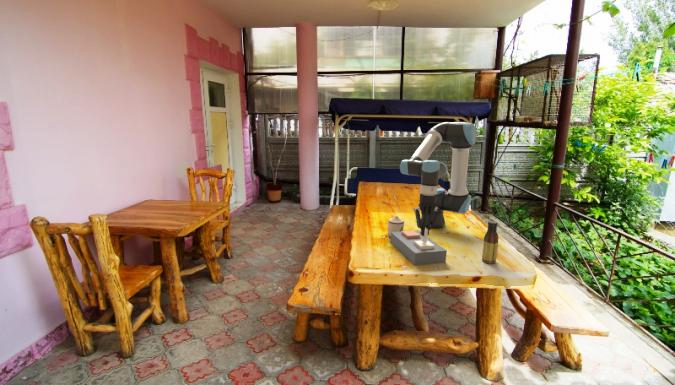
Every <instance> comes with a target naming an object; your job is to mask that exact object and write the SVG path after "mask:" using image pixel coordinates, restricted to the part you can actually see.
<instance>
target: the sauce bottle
mask: <svg viewBox="0 0 675 385" xmlns="http://www.w3.org/2000/svg"><path fill="white" fill-rule="evenodd" d="M498 225H499V222H498V221H495V220H488V222H487V231H486V233H485V234H484V237H483V244H482V245H483V246H482V254H481V257H482V258H481V259H482V262H484V263H486V264H493V265H494V264H496V262H497V259H498V249H499V248H498V247H499V235H498V232H497V228H498Z"/></svg>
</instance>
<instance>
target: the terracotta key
mask: <svg viewBox="0 0 675 385" xmlns="http://www.w3.org/2000/svg"><path fill="white" fill-rule="evenodd" d="M402 235H403V236H404V237H405V238H407V239H412V238H420V234H418V233H417V232H415V230H413V229H412V230H403V231H402Z"/></svg>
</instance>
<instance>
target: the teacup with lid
mask: <svg viewBox="0 0 675 385" xmlns="http://www.w3.org/2000/svg"><path fill="white" fill-rule="evenodd" d="M387 221H388V222H387V223H388V226H387V236H389V237H390V238H391V232H400V231H404V226H405V220H404V219H402V218H400V217H399V216H398V215H394V217H391V218H389V219H388V220H387Z"/></svg>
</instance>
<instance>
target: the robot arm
mask: <svg viewBox="0 0 675 385" xmlns="http://www.w3.org/2000/svg"><path fill="white" fill-rule="evenodd" d="M476 141H477V130H476V125H475V124H474V123H472V122H466V121H461V122H459V121H458V122H457V121H454V122H450V121H445V122H440V123H438V124H436V125H434V126H433V127H431V128H430V129H429V130H428V131H427V132H426V134H425V136H424V139H423V141H422V142H421V144H420V145H419V146H418V147H417V149H416V150H415V151H414V153H413V154H412V156H411V157H410V158H409V159H403V160H401V161H400V164H399V170H400V174H402V175H405V176H406V175H407V176H415V177H421V178H420V180H421V181H420V188H419V189H420V190H419V193H420V194H419V204H418V207H414V208H413V209H412V210H413V212H414V213H415V222H416V225H417V226H416V227H417V228H418V229H420V232H421V233H420V234H421V236H422V238H421V241H422V242H423V243H427V237H428V236H430V231H431V229H442V228H445V227H446V220H445V216H444V211H445V212H450V213H455V214H463V215H464V214H467V212H468V211H469V208H470V206H471V202H472V195H470V194H469V190H468V189H467V180H468V178H467V177H468V164H469V154H470V153H469V151H470V149H472V147H473V145H475V144H476ZM445 143H446V144H449V148H450V149H451V150H452V153H451V154H452V155H451V156H452V157H451V173H450V176H451V177H450V187H449V189H448V190H446V189H445V188H441V187H439V179H442V178H444V177H445V176H446V175H447V174H448V170H449V169H448V166H447V164H446V163H444V162H441V161H439V160H435V159H429V158H430V156H431V155H432V153H433V152H434V151H435V149H436V148H437V147H438V146H440V145H441V144H445ZM420 212H421V213H420Z"/></svg>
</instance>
